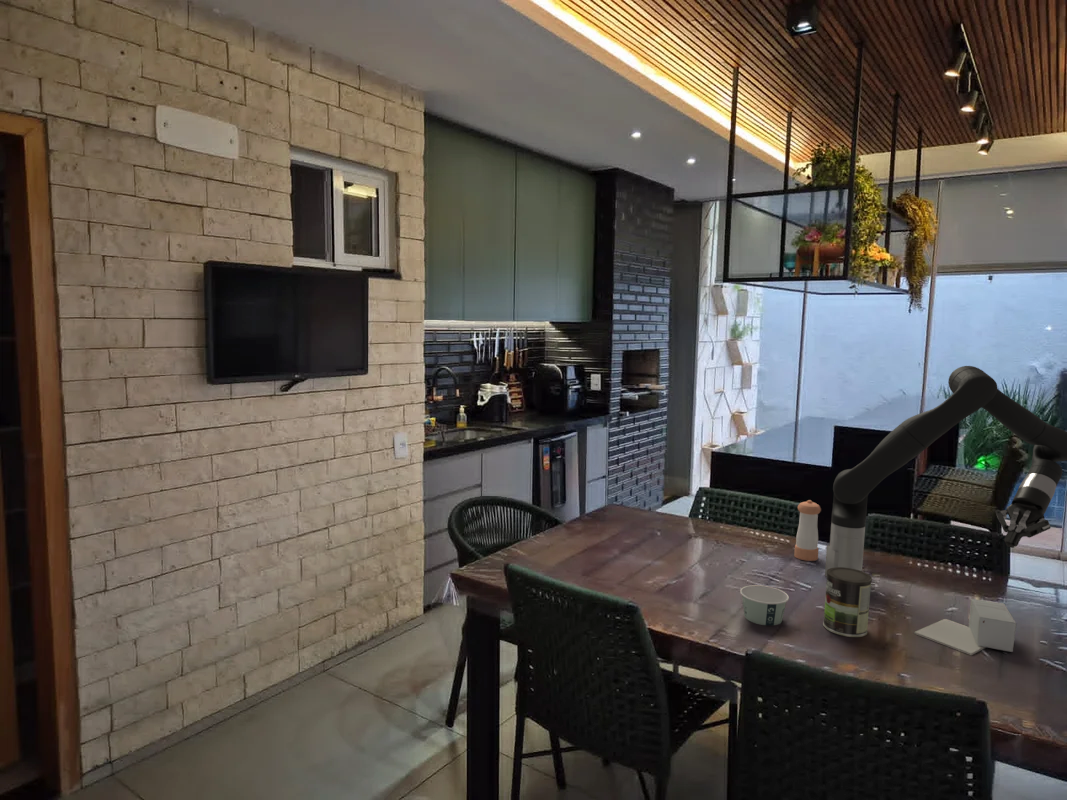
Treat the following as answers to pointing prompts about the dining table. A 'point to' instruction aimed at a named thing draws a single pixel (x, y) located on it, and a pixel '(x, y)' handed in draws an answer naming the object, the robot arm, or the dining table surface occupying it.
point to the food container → (763, 604)
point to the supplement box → (992, 625)
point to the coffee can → (847, 601)
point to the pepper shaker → (807, 532)
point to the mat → (951, 636)
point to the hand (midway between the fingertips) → (1009, 545)
